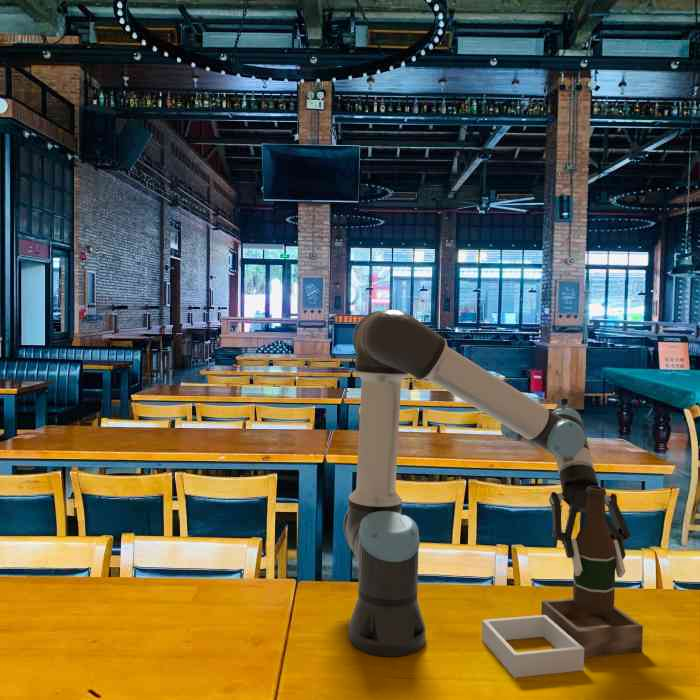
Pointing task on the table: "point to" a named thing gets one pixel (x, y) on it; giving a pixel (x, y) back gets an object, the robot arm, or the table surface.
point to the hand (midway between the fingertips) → (600, 573)
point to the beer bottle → (595, 559)
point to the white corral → (532, 662)
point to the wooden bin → (596, 628)
